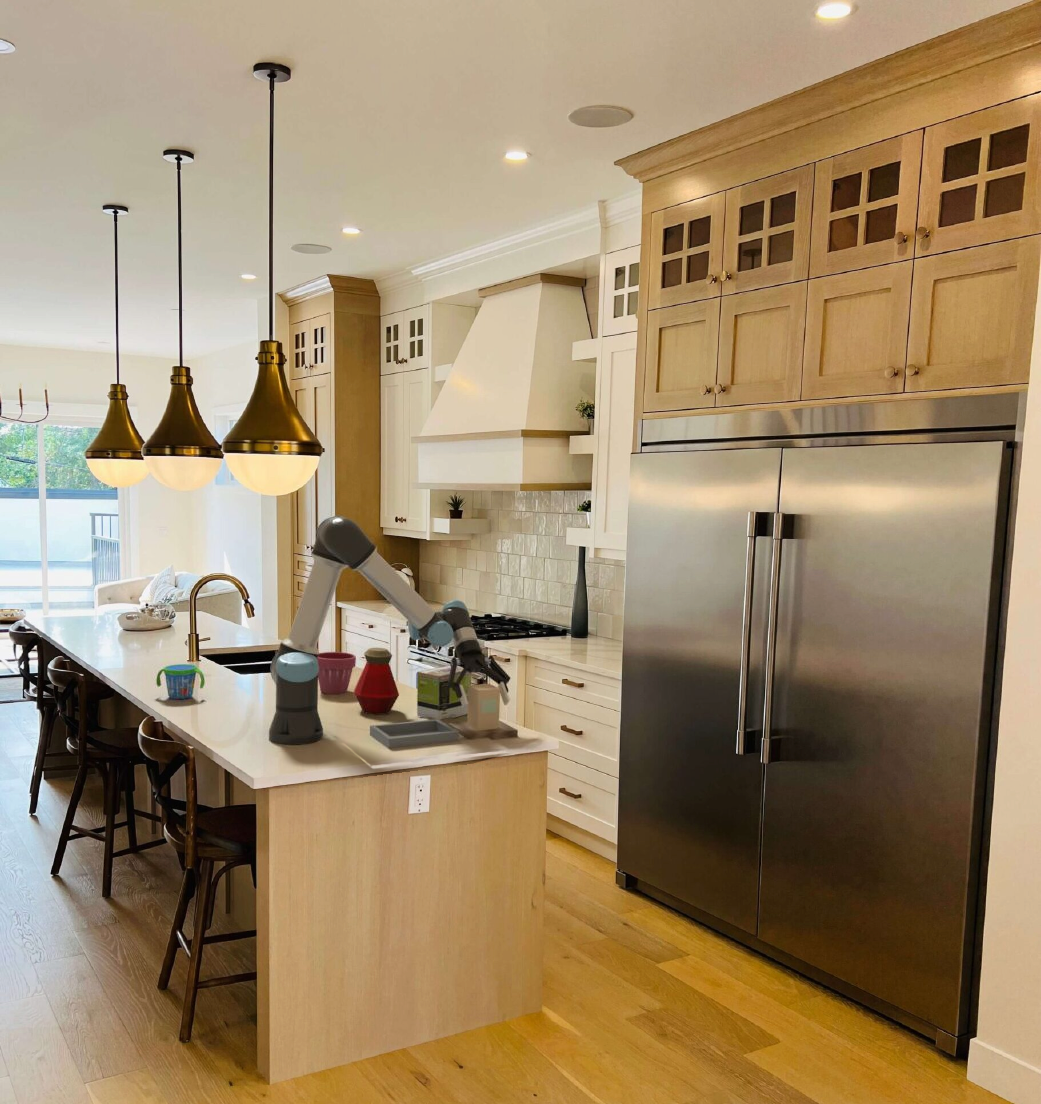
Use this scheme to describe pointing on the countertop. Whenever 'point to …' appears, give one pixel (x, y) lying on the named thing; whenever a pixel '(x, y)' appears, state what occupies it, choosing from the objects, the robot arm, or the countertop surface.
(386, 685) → the bottle
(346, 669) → the plant pot
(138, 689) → the countertop surface
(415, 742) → the bin
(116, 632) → the countertop surface
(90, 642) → the countertop surface
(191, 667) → the snack cup
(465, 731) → the walnut board
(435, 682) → the tea box
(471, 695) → the box
